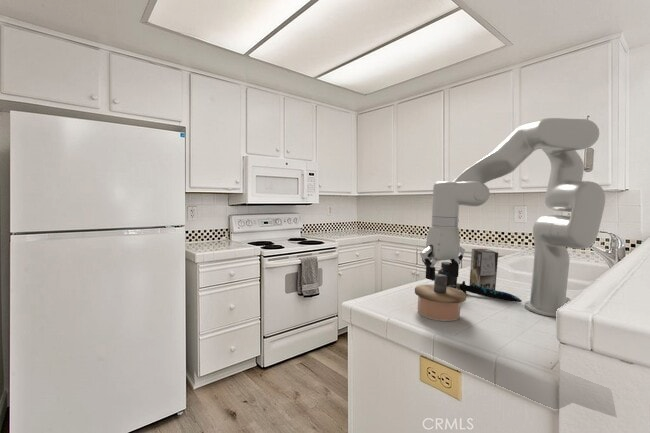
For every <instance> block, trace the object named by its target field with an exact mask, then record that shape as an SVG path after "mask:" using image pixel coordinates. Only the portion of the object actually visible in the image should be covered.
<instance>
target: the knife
mask: <svg viewBox="0 0 650 433" xmlns="http://www.w3.org/2000/svg"><path fill="white" fill-rule="evenodd" d="M434 281H435V280H434ZM434 281H433V282H434ZM469 285H470V284H469ZM469 285H468V284H466V281H465V280H463V281H462V282H461V283H458V282H457V287H456V289H458V290H461V291H463V292H464V293H465V294H466V295H467V292H468V293H472V294H474V295H477V296H483V297H485V298H486V297H487V298H491V299H496V300H499V301H506V302H511V303H522V299H520V297H518V296H516V295H514V294H511V293H509V292H504V291H502V290H501V291H500V290H496V289H495V290H491V289H487V288H483V287H480V286H477V285H475V284H474V283H472V285H470V286H469Z"/></svg>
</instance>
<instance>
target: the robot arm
mask: <svg viewBox="0 0 650 433" xmlns="http://www.w3.org/2000/svg"><path fill="white" fill-rule="evenodd" d="M599 137H600V129H599V127H598V125H597V124H596V123H595V122H594V121H592V120H589V119H586V118H563V117H561V118H560V117H549V118H542V119H538V120H535V121H531V122H527V123H523V124H521V125H520V126H518V127H517V128H516V129H514V130H513V132H511V133H510V134H509V135H508V136H507V137H506V138H505V139H504V140H503V141H502V142H501V143H500V144H499V145H498V146H497V147H496V148H495V149H493V151H491V152H490V153H489V154H488V155H486V156H484V157H483V158H482V159H481V158H480V160H478V161H476V162H475V163H474V164H472V165H471V166H469V167H468V168H465V170H463V172H461V173H460V174H459V175H458V176H457V177H456V178H455V179H454V180H453V181H449V180H448V181H447V180H446V181H445V180H443V181H436V182H435V183H434V184H433V188H432V189H433V190H432V191H433V192H432V206H431V207H432V208H431V209H432V210H431V226H429V228H428V231H427V235H426V242H425V243H426V244H425V248H424V249H423V250H422V251H420V258H421V261H422V263H423V264H424V266H425V279H427V280H429V281H432V282H434V280H435V274H436V267H435V265H436V264H437V262H439V261H441V262H442V261H449V260H450V264H449V275H450V276H453V277H457V278H458V277H459V271H460V270H459V268H460V264H461V263H462V262H461V261H462V259H464V254H465V251H466V249H465V248H463V247H461V244H460V242H461V241H460V240H461V239H460V228H459V221H460V220H459V213H460V211H459V210H460V206H466V207H479V206H482V205H484V204H485V203H487V201H488V199H489V198H490V189H489V187H488V186H487V185H486V183H488V182H490V181H492V180H493V181H494V180H496V179H499V178H503V177H505V176H507V175H509V174H511V173H513V172H514V171H515V170H516V169H517V168H518V167H519V166H520V165H521V164H522V163H523V162H524V161H525V160H526V159H527V158H528V157H529V156H530V155H532V154H533V153H534V152H535V151H537V150H542V151H543V152H544V154H545V155H546V156H547V158H548V160H549V162H550V175H549V178H548V182H547V187H546V192H545V198H544V203H545V205H546V207H547V208H548V209H550V210H552V211H557V212H566V213H570V215H562V214H561V215H560V214H545V215H542V216H540V217H538V218H537V219H536V220H535V222H534V223H533V227H532V234H533V236H532V237H533V242H534V253H533V254H534V255H533V256H534V257H533V267H532V275H531V277H532V278H531V286H530V287H531V289H530V298H529V300H528V301H525V302H524V305H523V306H524V308H525V309H526V310H528V311H531V312H533V313H536V314H538V315H542V316H546V317H547V316H548V317H552V318H557V317H556V311H557V309H558V308H560V307H561V306H563V305H564V304H565V303H566V304H568V303H567V302H568V301H570V302H571V298H570V297H568V296H567V290H568V289H567V288H568V279H569V270H570V254H569V251H568V249H576V250H585V249H586V250H587V249H589V248H590V247H591V246H592V245H594V243H596V240H597V237H598V234H599V231H600V227H601V222H602V219H603V213H604V209H605V207H606V206H605V204H606V194H605V191H604V188H602V186H601V185H600V184H599V183H597V182H595V181H590V180H583V177H584V171H585V165H584V162H583V161H584V160H583V159H582V157H581V155H579V153H578V152H577V151H580V150H586V149H589V148H591V147H592V146H593V145H594V144H596V143H597V141H598V140H599ZM567 248H568V249H567ZM566 304H565V305H566Z"/></svg>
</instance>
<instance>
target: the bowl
mask: <svg viewBox="0 0 650 433" xmlns="http://www.w3.org/2000/svg"><path fill="white" fill-rule="evenodd" d="M417 296H418V295H417ZM417 299H418V300H417V312H418V314H419V315H421V316H422V317H423V318H426V319H430V320H433V321H437V322H454V321H457V320H459V319H460V316H461V305H462V302H460V303H442V302H435V301H431V300H427V299H424V298H421V297H419V296H418V298H417Z"/></svg>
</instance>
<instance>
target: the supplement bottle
mask: <svg viewBox="0 0 650 433" xmlns="http://www.w3.org/2000/svg"><path fill="white" fill-rule="evenodd" d="M450 263H451V261H450V262H449V261H441V263H440V264H441V265H440V269H438V271H437V274H442V275H446V276H447V287H452V288H455V289H456V287H457V283H458V277H453V276H450V275H449V264H450Z"/></svg>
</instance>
